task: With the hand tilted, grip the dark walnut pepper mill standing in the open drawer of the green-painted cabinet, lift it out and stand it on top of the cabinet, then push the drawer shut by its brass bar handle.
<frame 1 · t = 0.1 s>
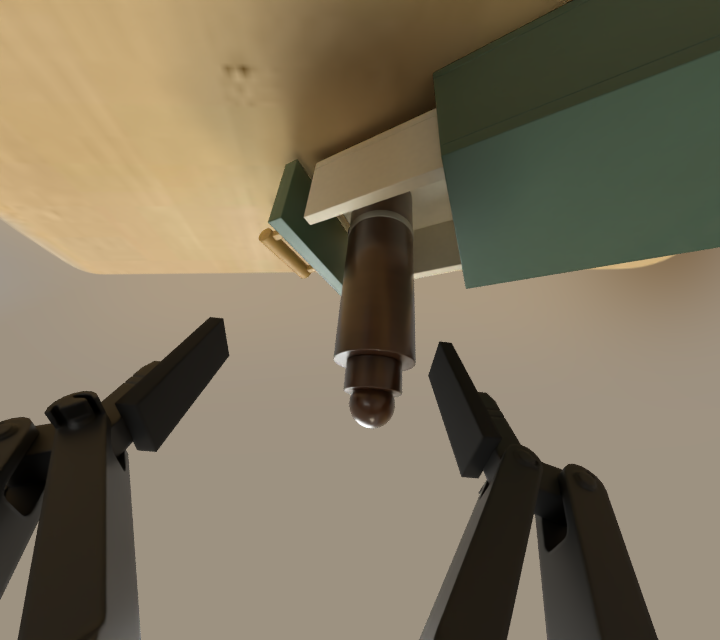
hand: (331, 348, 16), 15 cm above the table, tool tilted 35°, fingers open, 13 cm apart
cabinet: (560, 122, 17), on the table
drawer: (364, 225, 21), point 4 cm above the table, slide at 10.5 cm, touching pepper mill
pepper mill: (382, 203, 22), point 2 cm above the table, touching drawer
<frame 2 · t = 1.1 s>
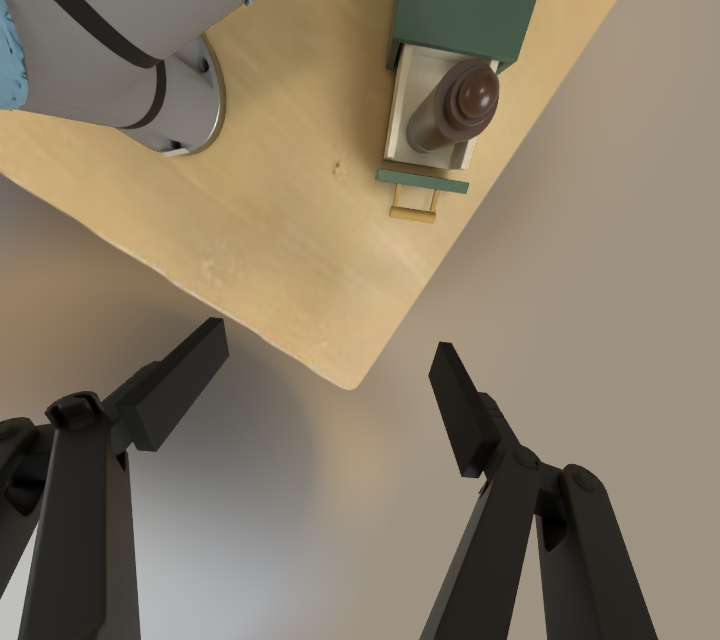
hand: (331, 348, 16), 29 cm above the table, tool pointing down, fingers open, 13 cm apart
drawer: (426, 143, 31), point 4 cm above the table, slide at 10.5 cm, touching pepper mill
pepper mill: (426, 130, 32), point 2 cm above the table, touching drawer
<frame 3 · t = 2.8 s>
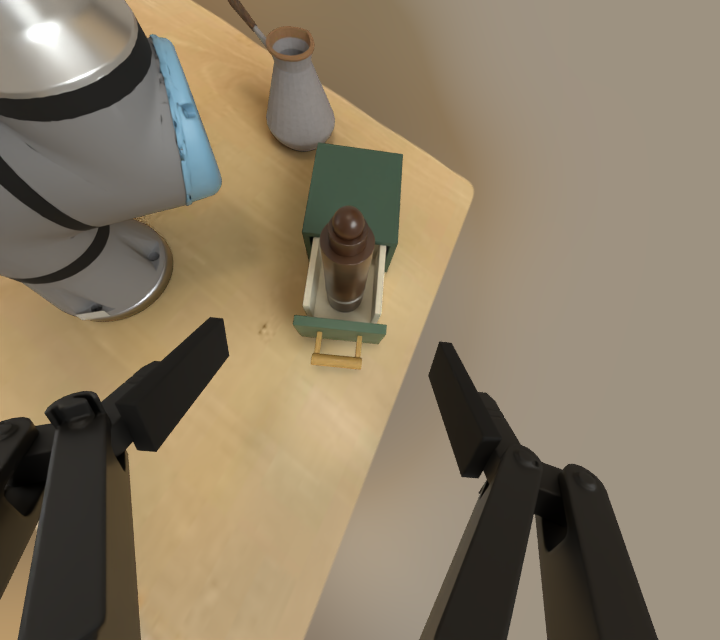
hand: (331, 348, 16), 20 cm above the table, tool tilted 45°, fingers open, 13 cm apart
cabinet: (352, 227, 42), on the table
drawer: (343, 301, 34), point 4 cm above the table, slide at 10.5 cm, touching pepper mill
coffee pot: (284, 121, 47), on the table
pepper mill: (344, 295, 36), point 2 cm above the table, touching drawer
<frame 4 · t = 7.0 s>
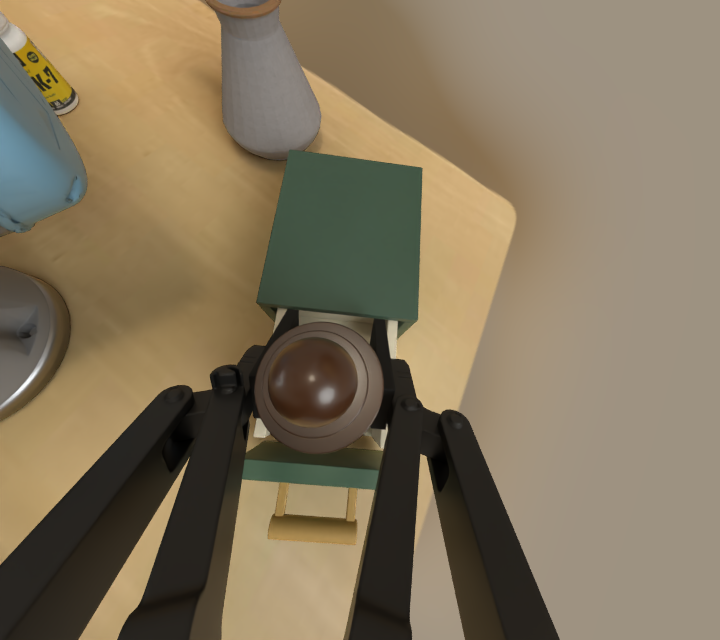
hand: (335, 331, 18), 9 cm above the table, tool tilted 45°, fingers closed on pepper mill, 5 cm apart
cabinet: (346, 271, 29), on the table
drawer: (328, 407, 21), point 4 cm above the table, slide at 10.5 cm, touching pepper mill
supplement bottle: (61, 104, 32), on the table
coffee pot: (252, 118, 34), on the table
pepper mill: (331, 388, 23), point 2 cm above the table, touching drawer, gripper
when the fingers open (15 cm above the table, at t = 12.9 s): pepper mill stays where it is, resting on cabinet.
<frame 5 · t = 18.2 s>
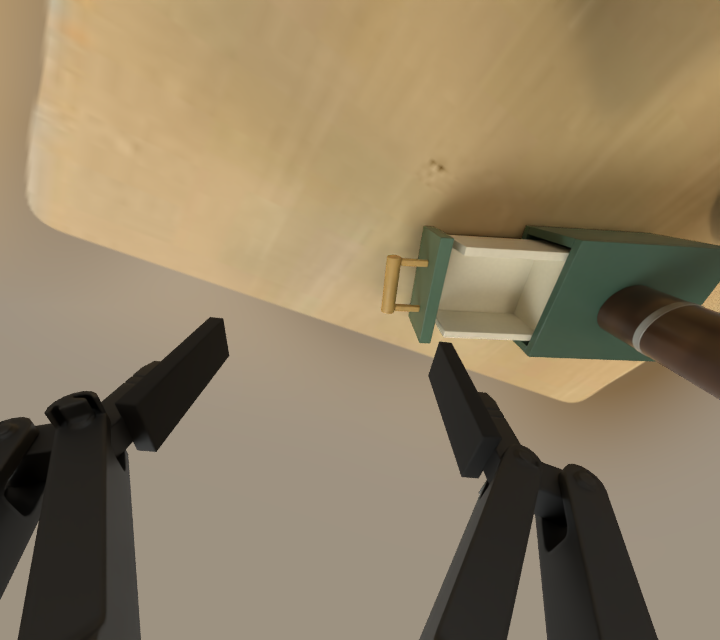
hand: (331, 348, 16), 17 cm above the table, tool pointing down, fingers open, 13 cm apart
cabinet: (564, 280, 32), on the table
drawer: (464, 286, 28), point 4 cm above the table, slide at 10.5 cm
pepper mill: (624, 309, 25), point 8 cm above the table, touching cabinet
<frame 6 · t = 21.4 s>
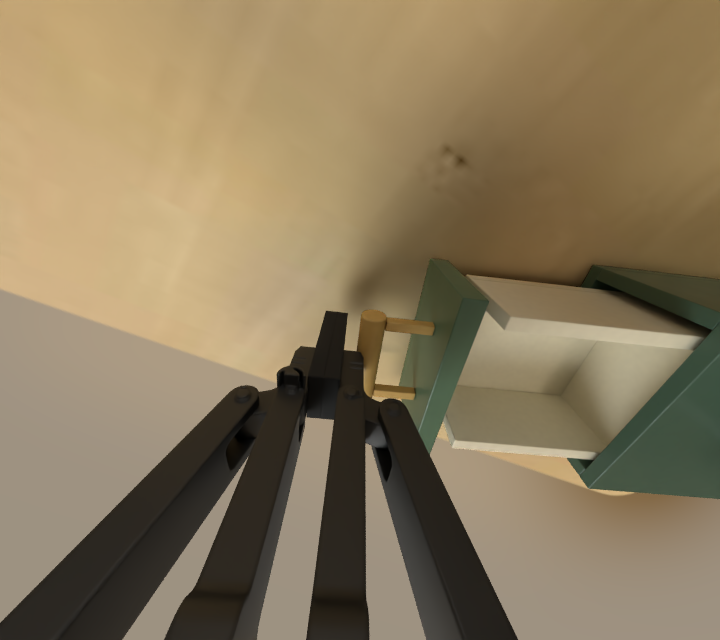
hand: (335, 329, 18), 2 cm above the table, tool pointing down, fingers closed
cabinet: (638, 347, 21), on the table
drawer: (492, 362, 16), point 4 cm above the table, slide at 10.1 cm, touching gripper
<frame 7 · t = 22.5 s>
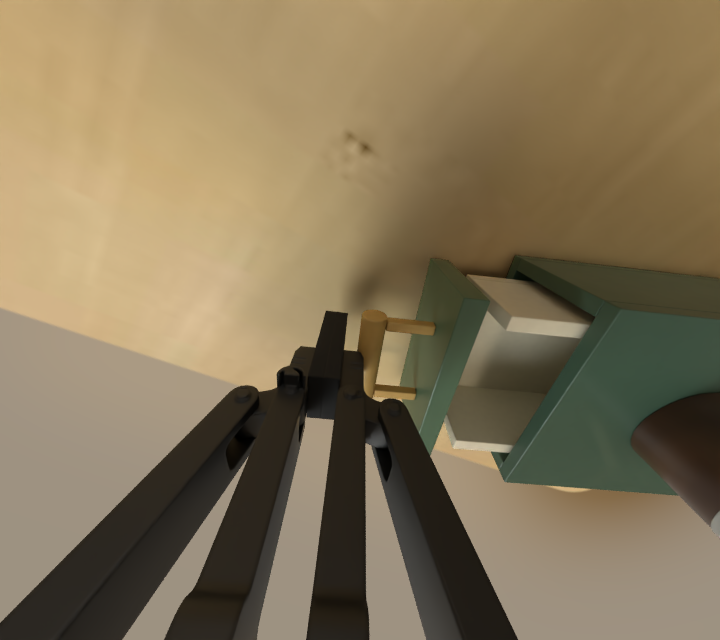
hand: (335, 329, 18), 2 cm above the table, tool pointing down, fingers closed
cabinet: (573, 340, 20), on the table
drawer: (492, 362, 16), point 4 cm above the table, slide at 4.6 cm, touching gripper
pepper mill: (684, 427, 13), point 8 cm above the table, touching cabinet
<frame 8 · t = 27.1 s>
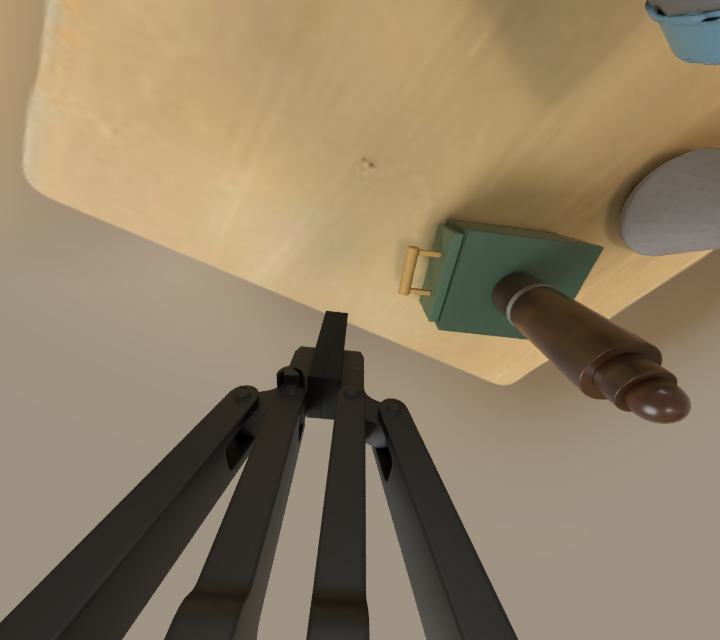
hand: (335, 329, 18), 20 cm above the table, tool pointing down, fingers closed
cabinet: (484, 270, 37), on the table
drawer: (469, 276, 33), point 4 cm above the table, slide at 0.0 cm, touching cabinet
coffee pot: (697, 171, 31), on the table
pepper mill: (513, 292, 30), point 8 cm above the table, touching cabinet
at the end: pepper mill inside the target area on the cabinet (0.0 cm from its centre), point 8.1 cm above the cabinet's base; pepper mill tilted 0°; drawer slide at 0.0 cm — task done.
